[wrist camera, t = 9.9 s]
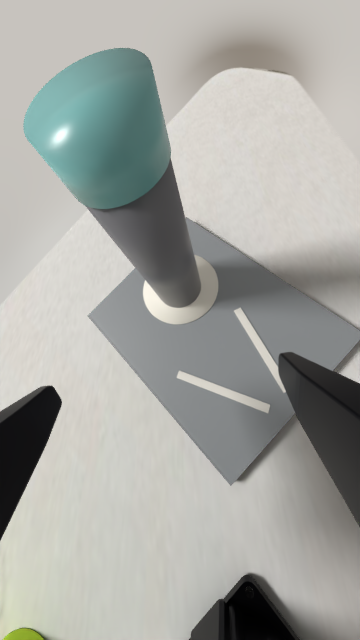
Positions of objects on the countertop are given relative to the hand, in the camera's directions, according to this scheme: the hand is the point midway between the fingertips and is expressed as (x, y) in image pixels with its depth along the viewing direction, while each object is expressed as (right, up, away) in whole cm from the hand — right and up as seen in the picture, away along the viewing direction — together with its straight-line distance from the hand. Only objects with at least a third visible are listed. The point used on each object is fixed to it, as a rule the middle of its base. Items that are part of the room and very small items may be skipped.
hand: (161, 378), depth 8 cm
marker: (+1, +5, +10) cm, 12 cm away
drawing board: (+3, +2, +10) cm, 10 cm away
